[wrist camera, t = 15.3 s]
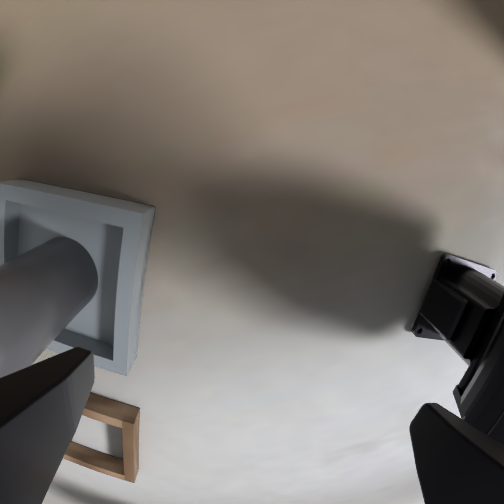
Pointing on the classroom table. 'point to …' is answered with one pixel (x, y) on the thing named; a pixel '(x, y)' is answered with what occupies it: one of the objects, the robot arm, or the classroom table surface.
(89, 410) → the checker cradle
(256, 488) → the classroom table surface
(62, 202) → the tray
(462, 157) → the classroom table surface
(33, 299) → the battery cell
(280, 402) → the classroom table surface
